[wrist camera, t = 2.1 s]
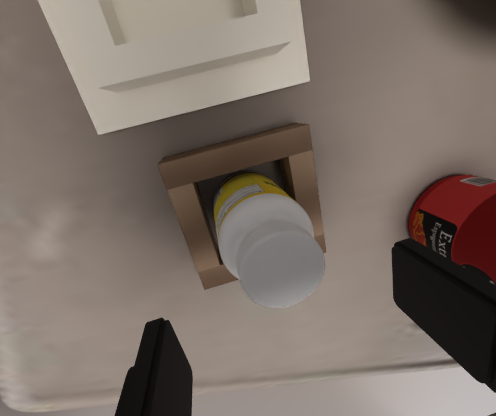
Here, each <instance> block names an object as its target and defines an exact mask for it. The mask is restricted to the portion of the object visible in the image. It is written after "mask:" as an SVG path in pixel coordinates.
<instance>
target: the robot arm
mask: <svg viewBox="0 0 496 416" xmlns="http://www.w3.org/2000/svg"><path fill="white" fill-rule="evenodd" d="M392 272H393V298H394V301H395V303H396V305H397V306H398V307H399V308H400V309H401V310H402V311H403V312H404V313H405V314H406V315H407V316H409V317H410V318H411V319H412V320H413V321H414V322H415V323H416V324H417V325H418V326H419V327H420V328H421V329H422V330H423V331H425V332H426V333H427V334H428V335H429V336H430V337H431V338H432V339H433V340H434V341H435V342H436V343H437V344H438V345H439V346H440V347H442V348H443V349H444V350H445V351H446V352H447V353H448V354H449V355H450V356H451V357H452V358H453V359H454V360H455V361H456V362H458V363H459V364H460V365H461V366H462V367H463V368H464V369H465V370H466V371H467V372H468V373H469V374H470V375H471V376H472V377H474V378H475V379H476V380H477V381H479V382H480V383H485V384H486V385H487V386H488V387H489V388H490V389H491V390H492V391H494V392H496V285H495V284H493V283H491V282H489V281H487V280H486V279H484V278H482V277H480V276H478V275H477V274H475V273H473V272H471V271H469V270H468V269H466V268H464V267H462V266H460V265H459V264H457V263H455V262H453V261H451V260H450V259H448V258H446V257H444V256H442V255H441V254H439V253H437V252H435V251H433V250H432V249H430V248H428V247H426V246H424V245H423V244H421V243H419V242H417V241H415V240H414V239H411V238H408V239H405V240H402V241H399V242H396V243H395V244H394V247H393V248H392ZM192 381H193V376H192V370H191V367H190V364H189V362H188V360H187V358H186V356H185V354H184V351H183V349H182V347H181V345H180V343H179V341H178V338H177V336H176V334H175V332H174V330H173V328H172V325H171V323H170V321H169V320H166V321H165V320H164V319H163V318H159V319H156V320H153V321H150V322H147V323H146V325H145V328H144V332H143V336H142V339H141V343H140V347H139V350H138V354H137V358H136V362H135V365H134V366H133V367H131V368H130V369H129V370H128V372H127V375H126V378H125V382H124V385H123V389H122V392H121V396H120V399H119V402H118V406H117V410H116V413H115V416H191V414H192V413H191V412H192V411H191V410H192ZM489 416H496V413H494V414H491V415H489Z"/></svg>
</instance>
